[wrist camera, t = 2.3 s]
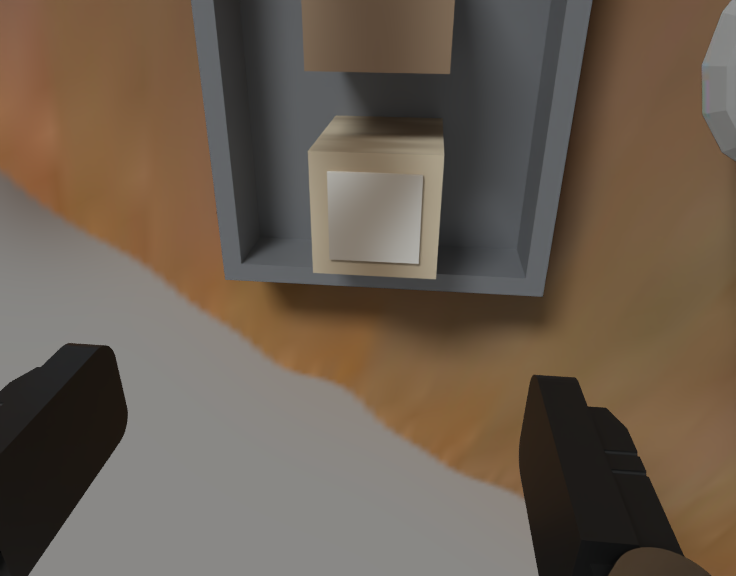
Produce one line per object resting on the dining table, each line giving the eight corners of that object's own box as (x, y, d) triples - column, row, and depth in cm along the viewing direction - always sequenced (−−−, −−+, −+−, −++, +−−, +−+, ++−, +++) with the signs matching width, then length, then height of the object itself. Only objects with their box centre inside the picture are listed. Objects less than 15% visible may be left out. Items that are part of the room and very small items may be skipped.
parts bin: (592, -150, 20) (621, -176, 17) (530, 260, 27) (542, 296, 24) (210, -145, 21) (170, -168, 18) (248, 246, 28) (225, 279, 25)
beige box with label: (442, 118, 24) (444, 156, 19) (435, 219, 26) (435, 281, 21) (335, 115, 24) (307, 152, 19) (337, 215, 26) (312, 274, 21)
